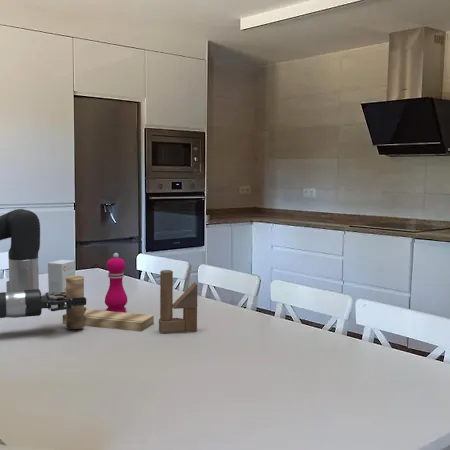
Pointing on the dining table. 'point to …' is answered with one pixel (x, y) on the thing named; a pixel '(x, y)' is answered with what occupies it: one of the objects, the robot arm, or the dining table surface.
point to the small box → (59, 274)
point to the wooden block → (176, 306)
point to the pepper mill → (116, 285)
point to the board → (116, 320)
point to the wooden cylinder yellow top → (76, 312)
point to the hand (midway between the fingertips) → (84, 299)
